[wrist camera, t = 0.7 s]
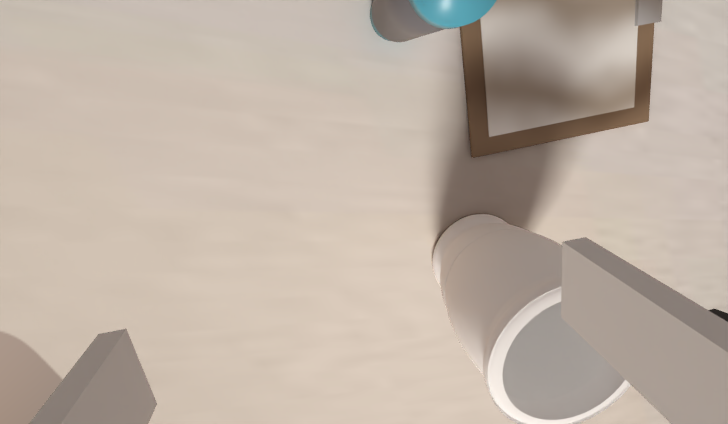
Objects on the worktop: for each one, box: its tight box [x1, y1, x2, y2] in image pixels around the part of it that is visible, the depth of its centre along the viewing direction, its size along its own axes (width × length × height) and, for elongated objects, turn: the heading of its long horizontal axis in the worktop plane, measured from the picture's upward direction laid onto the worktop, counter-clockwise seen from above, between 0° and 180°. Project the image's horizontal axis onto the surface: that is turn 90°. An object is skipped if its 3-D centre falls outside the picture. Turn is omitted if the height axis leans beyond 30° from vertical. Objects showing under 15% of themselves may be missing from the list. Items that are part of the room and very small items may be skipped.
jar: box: [432, 214, 631, 424], centre depth 32 cm, size 11×10×15 cm
